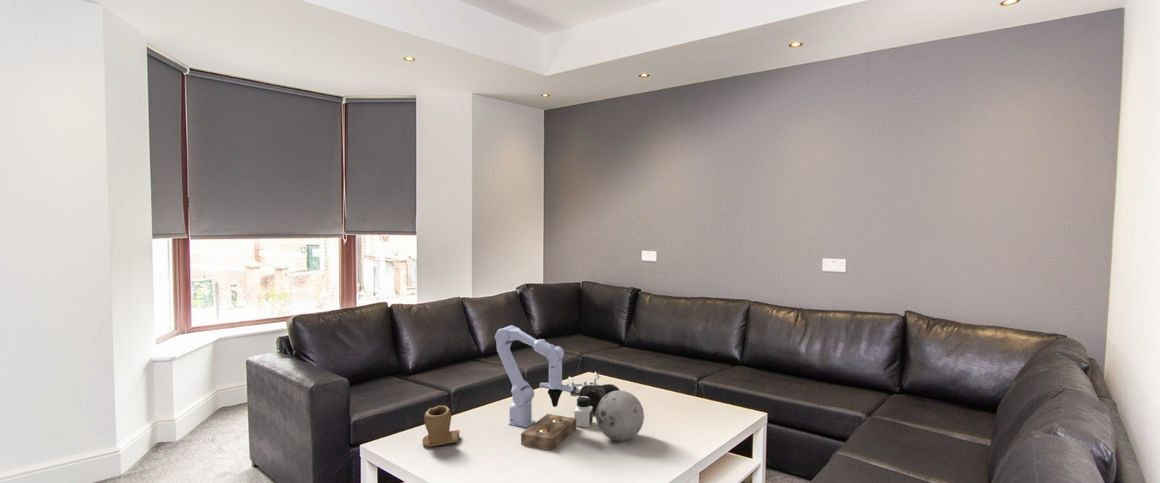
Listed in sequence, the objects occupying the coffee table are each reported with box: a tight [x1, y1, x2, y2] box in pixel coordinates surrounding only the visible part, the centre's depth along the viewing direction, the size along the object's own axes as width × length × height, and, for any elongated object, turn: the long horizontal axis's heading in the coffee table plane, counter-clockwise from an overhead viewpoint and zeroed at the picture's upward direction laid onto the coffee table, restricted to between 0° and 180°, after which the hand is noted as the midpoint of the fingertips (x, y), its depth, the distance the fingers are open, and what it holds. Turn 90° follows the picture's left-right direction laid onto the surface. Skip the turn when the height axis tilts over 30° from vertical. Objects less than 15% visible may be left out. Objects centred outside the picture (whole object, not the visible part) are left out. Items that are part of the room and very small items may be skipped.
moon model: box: [595, 389, 645, 442], centre depth 219 cm, size 20×20×20 cm
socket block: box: [520, 413, 577, 451], centre depth 222 cm, size 14×24×4 cm, turn 157°
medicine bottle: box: [573, 396, 594, 428], centre depth 235 cm, size 7×7×12 cm
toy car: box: [566, 371, 601, 396], centre depth 282 cm, size 18×10×12 cm
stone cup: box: [421, 405, 461, 447], centre depth 214 cm, size 15×12×15 cm
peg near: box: [539, 429, 548, 434], centre depth 216 cm, size 4×4×4 cm
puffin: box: [579, 383, 620, 413], centre depth 255 cm, size 20×21×13 cm
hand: (555, 406), depth 229 cm, fingers closed
